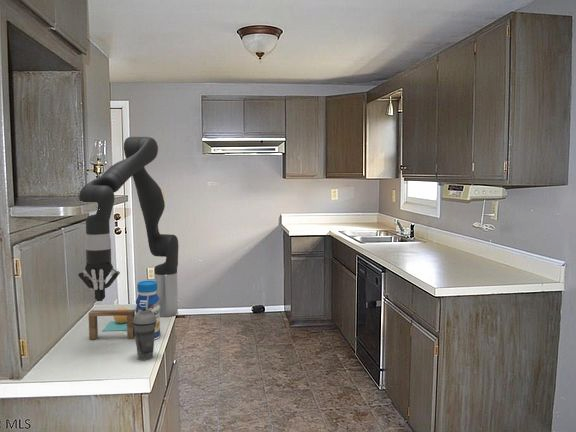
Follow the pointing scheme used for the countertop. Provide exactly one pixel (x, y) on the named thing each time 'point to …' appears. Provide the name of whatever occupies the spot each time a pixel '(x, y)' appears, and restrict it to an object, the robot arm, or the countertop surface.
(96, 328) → the bridge
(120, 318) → the ball
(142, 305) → the beverage bottle
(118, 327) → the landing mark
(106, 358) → the countertop surface
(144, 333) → the beverage cup
